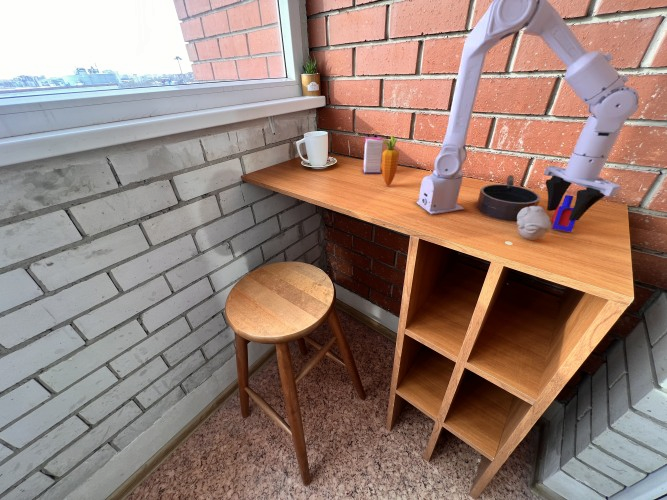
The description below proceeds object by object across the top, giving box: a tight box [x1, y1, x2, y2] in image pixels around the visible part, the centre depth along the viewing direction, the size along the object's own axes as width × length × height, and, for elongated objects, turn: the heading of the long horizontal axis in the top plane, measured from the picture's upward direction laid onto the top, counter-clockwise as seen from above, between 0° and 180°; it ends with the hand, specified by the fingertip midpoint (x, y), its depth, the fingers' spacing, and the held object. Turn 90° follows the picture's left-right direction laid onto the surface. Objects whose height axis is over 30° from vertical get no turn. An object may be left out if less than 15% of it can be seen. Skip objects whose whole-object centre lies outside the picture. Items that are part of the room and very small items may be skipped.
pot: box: [476, 183, 541, 222], centre depth 73 cm, size 13×13×5 cm
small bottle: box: [550, 194, 577, 233], centre depth 64 cm, size 4×4×8 cm
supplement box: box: [363, 136, 384, 175], centre depth 101 cm, size 6×6×12 cm
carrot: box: [381, 135, 400, 187], centre depth 87 cm, size 5×5×15 cm
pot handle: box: [506, 174, 515, 190], centre depth 80 cm, size 11×2×2 cm, turn 151°
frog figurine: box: [516, 205, 552, 241], centre depth 60 cm, size 6×7×7 cm
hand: (562, 214), depth 65 cm, fingers closed on small bottle, 5 cm apart
